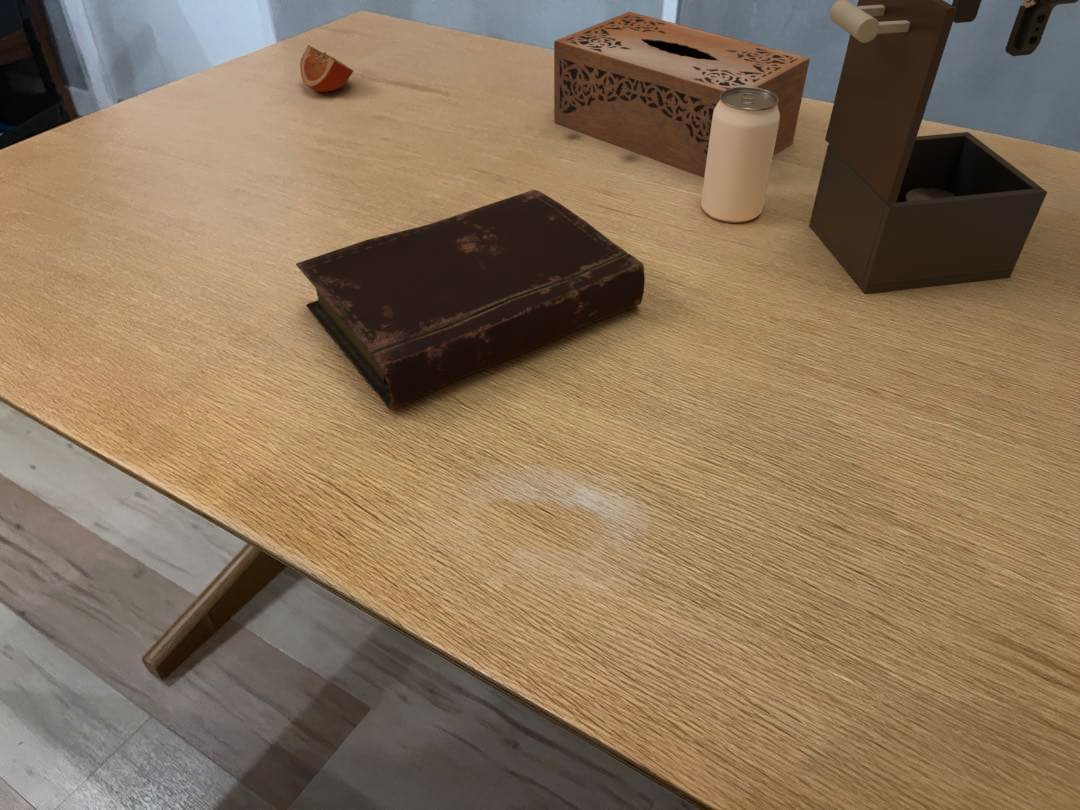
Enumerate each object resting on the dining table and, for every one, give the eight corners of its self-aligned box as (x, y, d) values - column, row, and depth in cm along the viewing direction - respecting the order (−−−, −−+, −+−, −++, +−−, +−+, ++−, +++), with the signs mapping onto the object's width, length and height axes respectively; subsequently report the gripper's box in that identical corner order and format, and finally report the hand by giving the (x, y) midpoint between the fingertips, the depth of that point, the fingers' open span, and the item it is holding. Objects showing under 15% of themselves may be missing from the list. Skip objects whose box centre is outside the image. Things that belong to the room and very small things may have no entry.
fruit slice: (294, 84, 115) (287, 48, 112) (338, 74, 118) (332, 37, 115) (320, 103, 110) (312, 65, 107) (365, 91, 113) (359, 54, 109)
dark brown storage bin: (940, 212, 86) (968, 131, 80) (1010, 277, 77) (1048, 191, 71) (808, 225, 85) (827, 144, 79) (864, 293, 75) (890, 207, 70)
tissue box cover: (554, 122, 104) (554, 40, 98) (624, 89, 112) (629, 11, 106) (726, 185, 91) (740, 96, 85) (792, 142, 99) (809, 58, 92)
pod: (932, 221, 83) (945, 185, 81) (960, 247, 80) (974, 210, 77) (884, 226, 83) (895, 190, 80) (910, 253, 79) (922, 216, 76)
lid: (876, -39, 68) (817, -36, 68) (957, 8, 59) (890, 12, 58) (832, 139, 79) (780, 143, 78) (896, 202, 69) (838, 207, 69)
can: (697, 221, 86) (712, 107, 78) (703, 192, 90) (717, 82, 82) (760, 227, 84) (782, 113, 76) (763, 198, 89) (784, 87, 81)
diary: (645, 311, 74) (649, 263, 71) (394, 419, 64) (385, 369, 60) (530, 225, 85) (529, 180, 82) (303, 305, 75) (291, 258, 72)
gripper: (1185, -187, 54) (1083, 62, 65) (1051, -211, 65) (981, 8, 76) (1082, -181, 54) (995, 71, 64) (963, -206, 64) (905, 14, 75)
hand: (988, 36), depth 70 cm, fingers open, 8 cm apart
